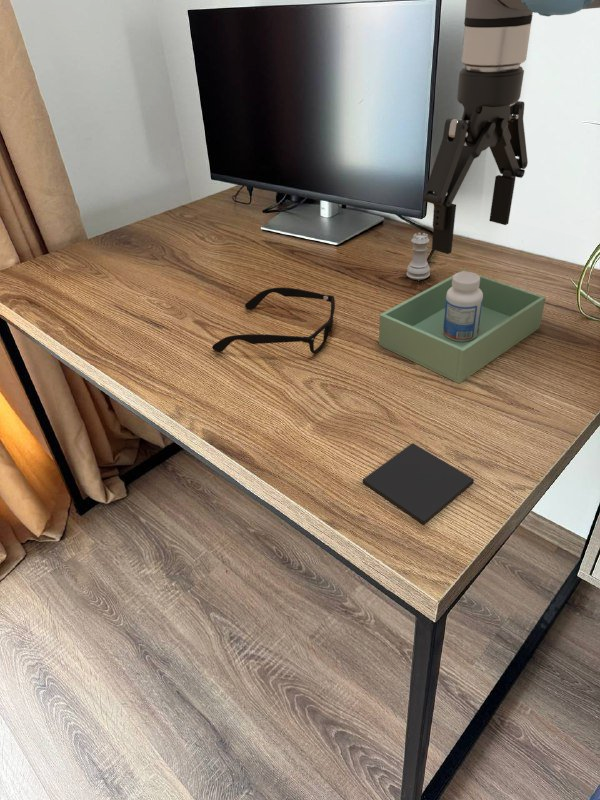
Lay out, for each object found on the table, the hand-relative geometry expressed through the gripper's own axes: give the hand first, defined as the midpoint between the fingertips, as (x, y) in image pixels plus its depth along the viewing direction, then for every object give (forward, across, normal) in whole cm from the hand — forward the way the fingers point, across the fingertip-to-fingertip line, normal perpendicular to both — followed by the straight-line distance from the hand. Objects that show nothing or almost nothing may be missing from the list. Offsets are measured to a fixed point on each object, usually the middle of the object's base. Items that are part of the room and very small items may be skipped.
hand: (471, 236), depth 83 cm
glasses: (+17, +19, -22) cm, 33 cm away
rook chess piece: (+17, -13, -19) cm, 28 cm away
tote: (+16, 0, 0) cm, 16 cm away
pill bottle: (+16, 0, 0) cm, 16 cm away
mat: (+16, +30, +16) cm, 38 cm away
